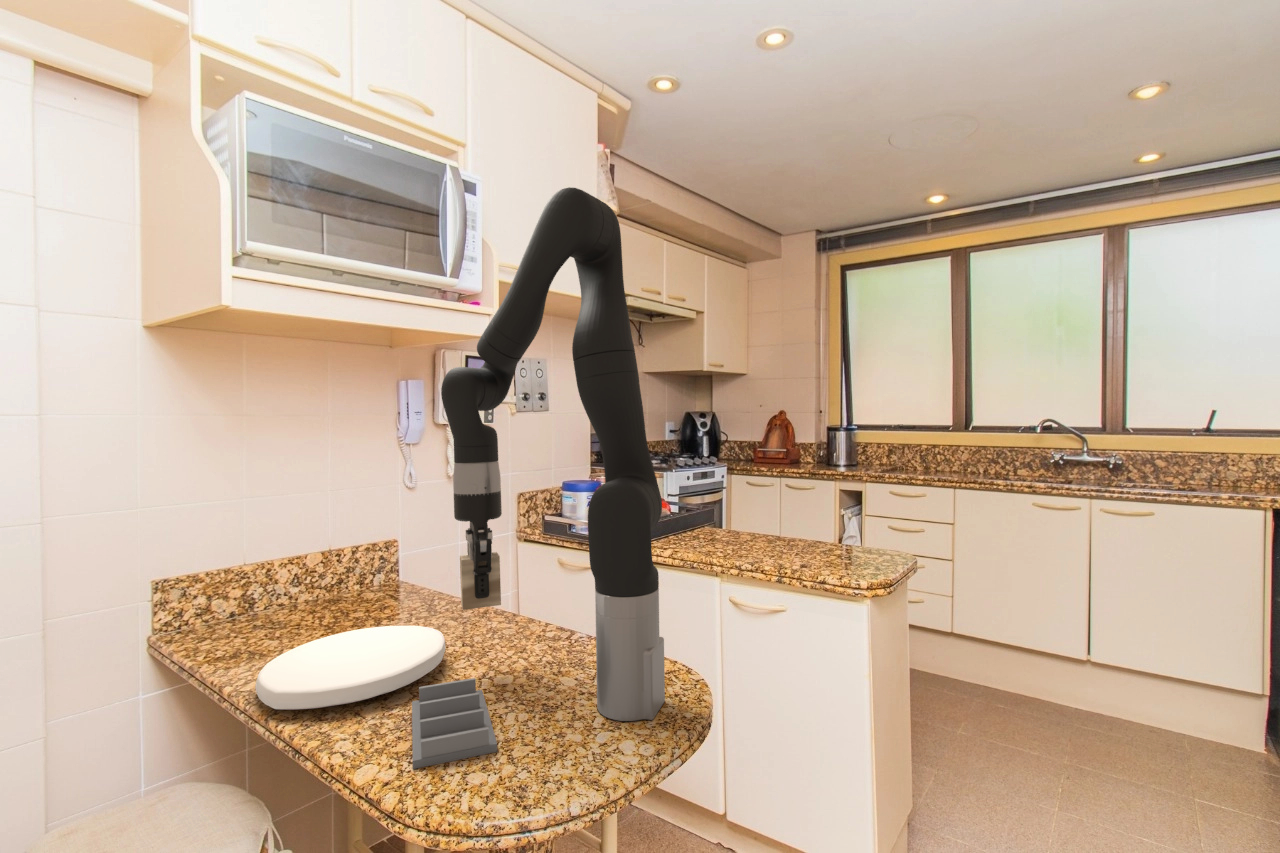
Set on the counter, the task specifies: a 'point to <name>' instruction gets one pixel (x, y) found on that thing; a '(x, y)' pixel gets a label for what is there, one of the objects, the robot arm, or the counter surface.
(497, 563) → the block
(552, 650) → the counter surface
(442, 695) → the rack
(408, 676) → the plate
